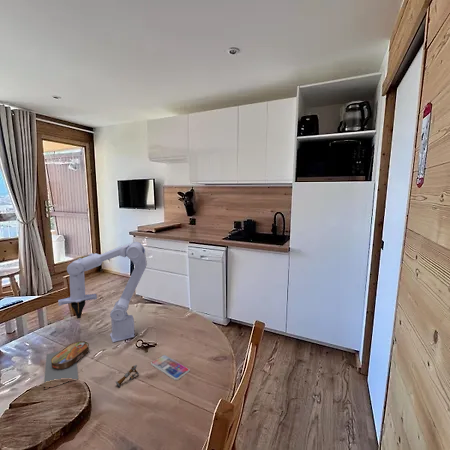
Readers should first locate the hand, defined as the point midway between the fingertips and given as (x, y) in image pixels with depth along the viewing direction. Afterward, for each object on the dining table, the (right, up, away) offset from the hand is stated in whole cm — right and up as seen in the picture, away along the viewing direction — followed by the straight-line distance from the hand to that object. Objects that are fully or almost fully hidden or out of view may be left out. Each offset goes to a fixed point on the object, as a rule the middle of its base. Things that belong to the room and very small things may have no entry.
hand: (78, 317), depth 114 cm
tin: (+8, -11, -13) cm, 19 cm away
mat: (+3, -13, -17) cm, 21 cm away
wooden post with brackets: (+30, -14, -23) cm, 41 cm away
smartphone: (+44, -14, -16) cm, 48 cm away
